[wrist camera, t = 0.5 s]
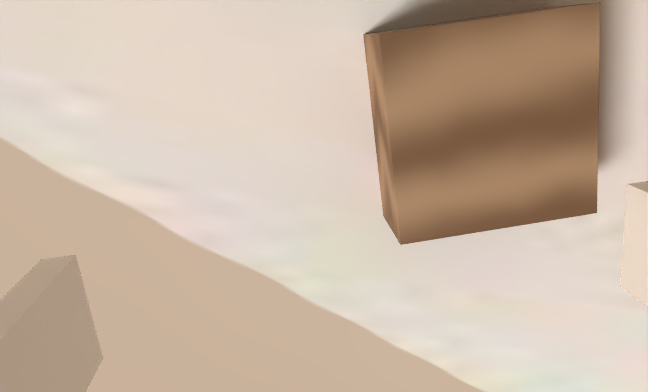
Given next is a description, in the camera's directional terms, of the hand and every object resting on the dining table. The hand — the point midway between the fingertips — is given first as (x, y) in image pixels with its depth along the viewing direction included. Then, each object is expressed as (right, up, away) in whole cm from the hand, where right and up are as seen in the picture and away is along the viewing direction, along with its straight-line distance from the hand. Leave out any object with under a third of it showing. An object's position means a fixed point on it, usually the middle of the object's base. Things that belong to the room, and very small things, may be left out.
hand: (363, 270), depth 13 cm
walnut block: (+9, +8, +26) cm, 28 cm away
